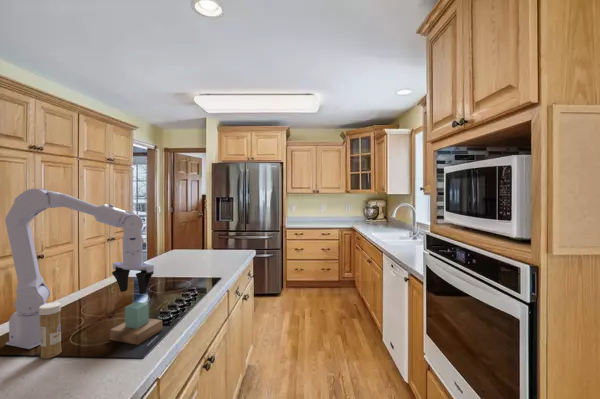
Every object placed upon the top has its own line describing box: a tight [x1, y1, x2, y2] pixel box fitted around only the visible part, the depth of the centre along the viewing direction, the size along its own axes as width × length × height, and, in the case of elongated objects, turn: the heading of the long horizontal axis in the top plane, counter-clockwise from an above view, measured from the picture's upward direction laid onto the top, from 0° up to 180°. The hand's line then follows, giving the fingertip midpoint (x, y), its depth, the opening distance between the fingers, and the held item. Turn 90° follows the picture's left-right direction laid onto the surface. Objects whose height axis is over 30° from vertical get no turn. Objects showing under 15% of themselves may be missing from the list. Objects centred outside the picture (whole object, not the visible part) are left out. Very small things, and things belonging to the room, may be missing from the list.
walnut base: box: [109, 318, 163, 346], centre depth 97 cm, size 10×10×3 cm
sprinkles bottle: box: [39, 302, 62, 359], centre depth 85 cm, size 5×5×14 cm
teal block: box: [124, 301, 150, 329], centre depth 96 cm, size 4×4×6 cm
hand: (133, 292), depth 104 cm, fingers open, 7 cm apart
